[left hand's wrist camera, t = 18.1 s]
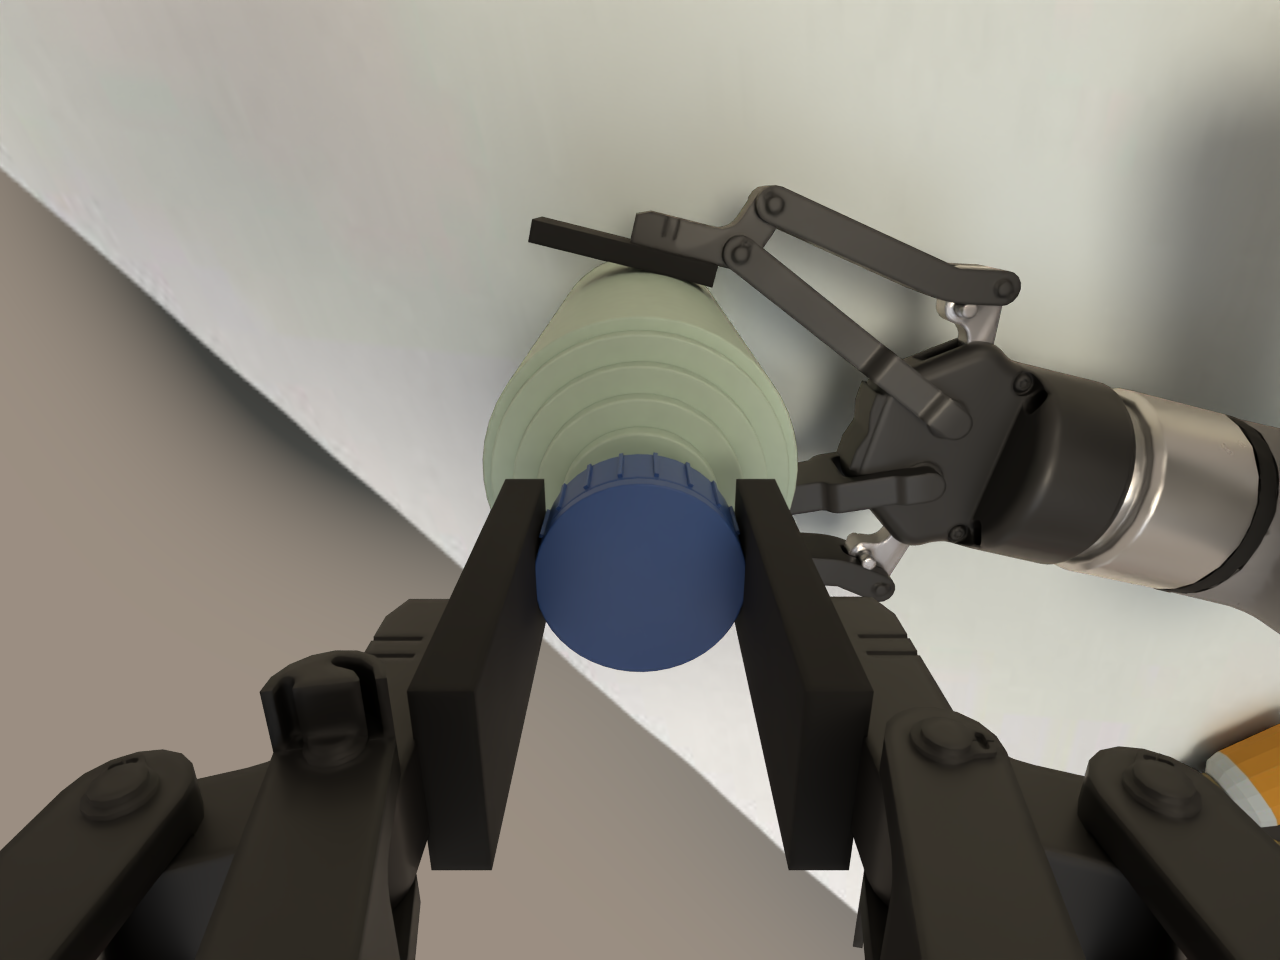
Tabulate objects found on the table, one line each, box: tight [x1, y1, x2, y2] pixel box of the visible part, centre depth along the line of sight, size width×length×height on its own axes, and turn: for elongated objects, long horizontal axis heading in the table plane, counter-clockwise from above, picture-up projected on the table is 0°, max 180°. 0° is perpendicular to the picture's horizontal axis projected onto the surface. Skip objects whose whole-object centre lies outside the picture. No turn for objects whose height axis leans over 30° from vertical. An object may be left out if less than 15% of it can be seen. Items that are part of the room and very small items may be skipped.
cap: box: [535, 452, 745, 672], centre depth 14 cm, size 4×4×2 cm
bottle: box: [483, 262, 798, 512], centre depth 24 cm, size 8×8×22 cm
